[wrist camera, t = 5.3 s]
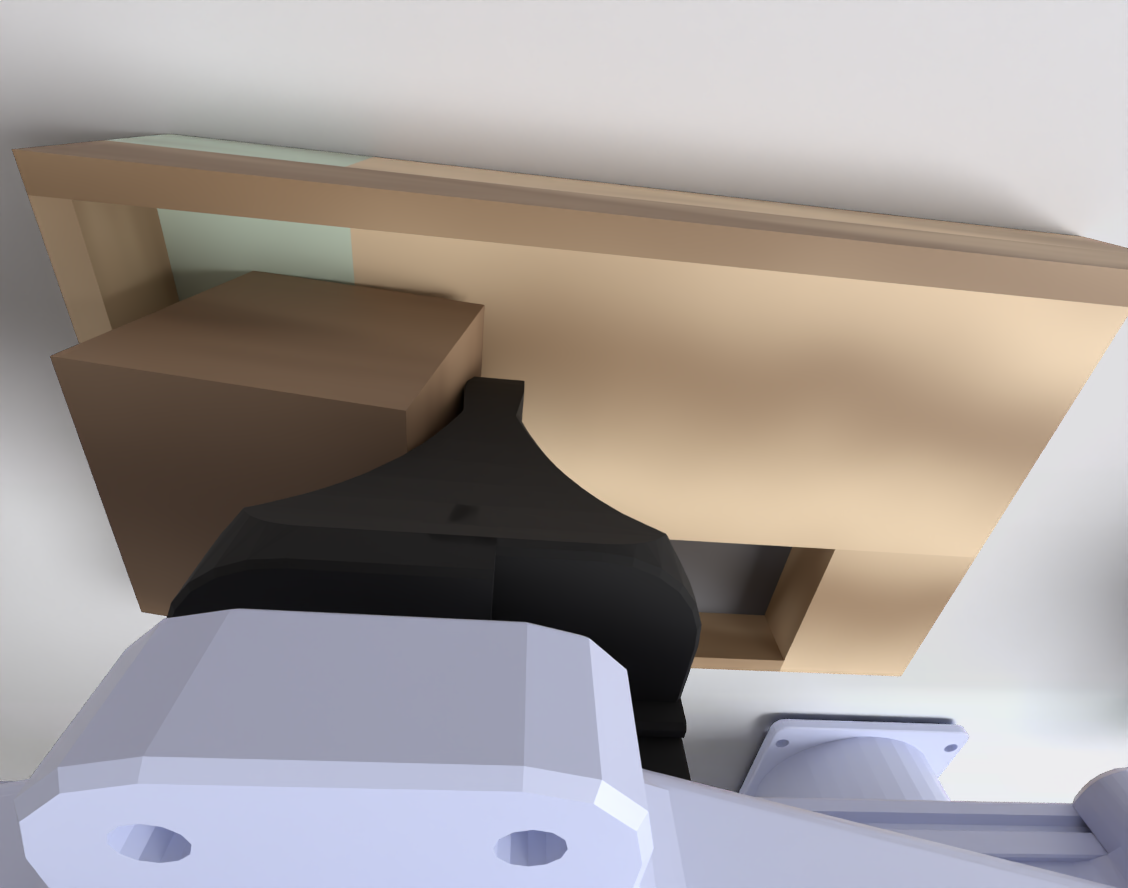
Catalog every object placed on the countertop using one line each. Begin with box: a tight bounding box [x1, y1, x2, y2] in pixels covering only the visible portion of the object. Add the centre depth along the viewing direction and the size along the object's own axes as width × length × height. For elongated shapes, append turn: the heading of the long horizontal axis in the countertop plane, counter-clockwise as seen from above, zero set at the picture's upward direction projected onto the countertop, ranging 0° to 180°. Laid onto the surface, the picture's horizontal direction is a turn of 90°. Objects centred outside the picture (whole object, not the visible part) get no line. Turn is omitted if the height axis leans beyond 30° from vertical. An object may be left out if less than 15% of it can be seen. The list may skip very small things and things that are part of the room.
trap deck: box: [12, 134, 1128, 676], centre depth 14 cm, size 13×20×4 cm, turn 84°
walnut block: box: [50, 271, 485, 616], centre depth 10 cm, size 4×4×4 cm
